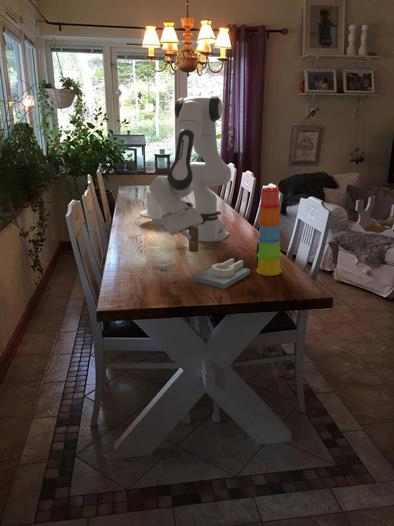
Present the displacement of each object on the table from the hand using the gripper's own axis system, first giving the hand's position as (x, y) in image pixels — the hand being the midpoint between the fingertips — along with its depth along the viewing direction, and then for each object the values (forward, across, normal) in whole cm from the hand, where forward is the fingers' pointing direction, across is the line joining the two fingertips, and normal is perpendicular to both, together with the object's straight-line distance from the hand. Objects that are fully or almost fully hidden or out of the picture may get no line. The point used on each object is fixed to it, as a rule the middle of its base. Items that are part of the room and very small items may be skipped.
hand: (194, 237), depth 181 cm
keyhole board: (+20, -3, -2) cm, 21 cm away
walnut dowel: (+4, 0, +5) cm, 6 cm away
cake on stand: (-33, +52, +54) cm, 82 cm away
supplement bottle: (+24, +23, -4) cm, 34 cm away
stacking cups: (+29, +14, -10) cm, 34 cm away
